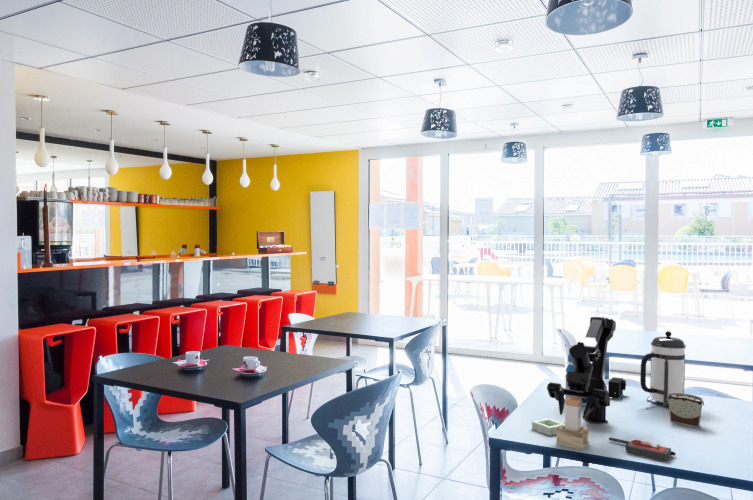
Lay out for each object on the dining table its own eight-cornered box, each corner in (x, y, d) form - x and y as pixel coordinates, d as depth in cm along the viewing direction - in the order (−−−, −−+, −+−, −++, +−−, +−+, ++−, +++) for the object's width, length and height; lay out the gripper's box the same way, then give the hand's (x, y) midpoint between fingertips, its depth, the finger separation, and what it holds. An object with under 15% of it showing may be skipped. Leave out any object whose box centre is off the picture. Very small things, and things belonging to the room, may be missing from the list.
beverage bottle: (565, 404, 230) (566, 355, 230) (564, 399, 239) (565, 352, 238) (587, 406, 228) (588, 357, 228) (586, 401, 236) (587, 353, 236)
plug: (568, 429, 187) (568, 396, 187) (580, 432, 185) (581, 398, 185) (564, 433, 184) (565, 398, 183) (577, 435, 181) (578, 401, 181)
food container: (707, 424, 208) (708, 397, 208) (703, 428, 203) (703, 400, 203) (671, 417, 216) (671, 390, 216) (666, 420, 211) (666, 393, 211)
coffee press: (647, 396, 246) (649, 327, 246) (689, 403, 237) (691, 331, 237) (639, 405, 232) (641, 331, 232) (683, 412, 223) (685, 335, 223)
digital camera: (621, 399, 241) (622, 383, 241) (608, 397, 244) (608, 381, 244) (625, 394, 250) (626, 378, 250) (612, 392, 252) (612, 376, 252)
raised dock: (563, 437, 190) (563, 422, 190) (588, 442, 185) (588, 427, 185) (556, 444, 183) (556, 428, 183) (582, 449, 179) (582, 433, 178)
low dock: (547, 425, 202) (548, 418, 202) (566, 432, 196) (566, 424, 196) (531, 428, 198) (532, 421, 198) (549, 435, 191) (549, 427, 191)
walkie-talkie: (677, 456, 176) (609, 441, 188) (677, 442, 176) (609, 428, 188) (671, 464, 169) (601, 449, 181) (671, 449, 169) (601, 435, 181)
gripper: (549, 358, 192) (537, 397, 183) (607, 365, 182) (598, 407, 173) (555, 377, 199) (545, 416, 190) (612, 385, 189) (603, 427, 179)
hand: (571, 416), depth 183 cm, fingers open, 7 cm apart
